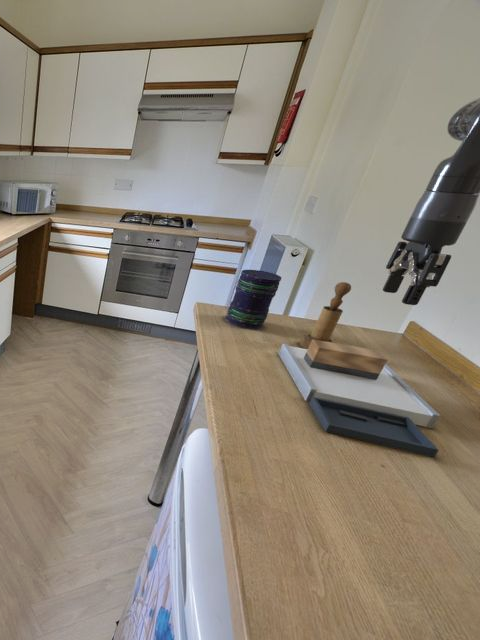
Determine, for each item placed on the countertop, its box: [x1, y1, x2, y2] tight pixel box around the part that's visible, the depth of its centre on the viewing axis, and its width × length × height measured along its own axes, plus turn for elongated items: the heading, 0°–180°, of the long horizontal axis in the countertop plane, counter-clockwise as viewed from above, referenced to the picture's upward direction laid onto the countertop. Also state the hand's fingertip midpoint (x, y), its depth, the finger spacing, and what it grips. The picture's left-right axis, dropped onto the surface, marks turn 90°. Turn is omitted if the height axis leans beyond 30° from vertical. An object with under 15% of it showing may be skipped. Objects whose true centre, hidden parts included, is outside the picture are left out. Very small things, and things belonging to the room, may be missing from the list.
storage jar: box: [224, 269, 282, 330], centre depth 119 cm, size 10×10×15 cm
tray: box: [308, 397, 439, 458], centre depth 76 cm, size 15×10×2 cm
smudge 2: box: [376, 416, 406, 427], centre depth 78 cm, size 4×1×1 cm, turn 67°
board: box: [278, 343, 441, 429], centre depth 90 cm, size 20×24×3 cm
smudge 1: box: [339, 410, 368, 422], centre depth 79 cm, size 4×1×1 cm, turn 60°
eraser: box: [304, 339, 388, 380], centre depth 91 cm, size 12×5×5 cm, turn 67°
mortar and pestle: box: [299, 281, 352, 349], centre depth 104 cm, size 7×6×18 cm
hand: (398, 297), depth 85 cm, fingers open, 8 cm apart
